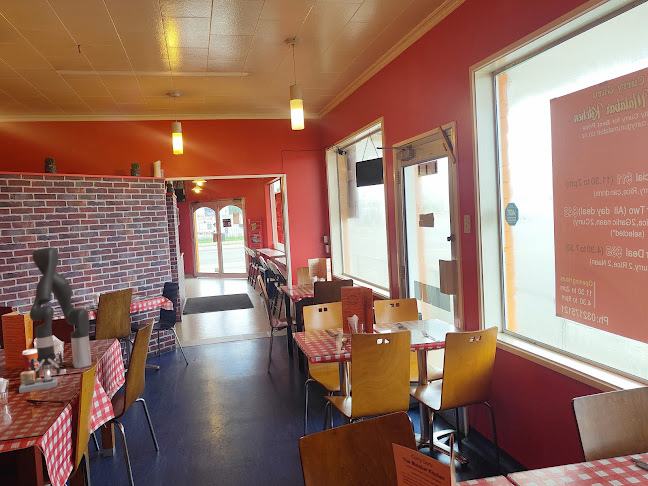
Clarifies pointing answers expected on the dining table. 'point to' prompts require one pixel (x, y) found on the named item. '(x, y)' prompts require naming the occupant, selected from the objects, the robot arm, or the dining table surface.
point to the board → (37, 385)
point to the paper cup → (27, 359)
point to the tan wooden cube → (27, 376)
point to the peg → (47, 375)
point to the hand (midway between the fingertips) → (48, 376)
